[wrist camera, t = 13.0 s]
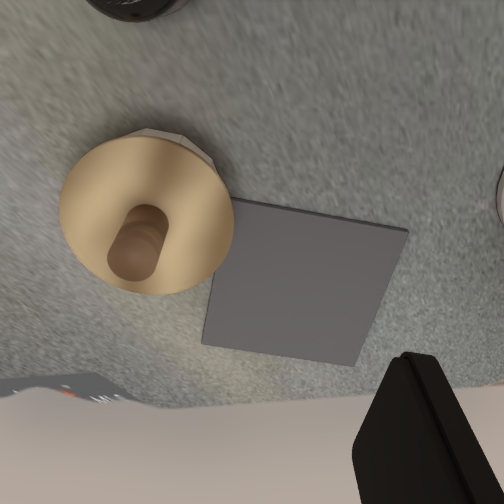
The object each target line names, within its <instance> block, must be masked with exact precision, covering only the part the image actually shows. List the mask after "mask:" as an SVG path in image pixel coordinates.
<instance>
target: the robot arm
mask: <svg viewBox="0 0 504 504" xmlns="http://www.w3.org/2000/svg"><path fill="white" fill-rule="evenodd" d="M497 210H498V214H499V217H500V220H501V222H502V224H503V225H504V171H503V173H502V176H501V179H500V182H499V185H498V192H497ZM352 461H353V466H354V471H355V476H356V480H357V484H358V489H359V494H360V499H361V503H362V504H504V493H503V491H502V489H501V487H500V484H499V482H498V480H497V479H496V477H495V474H494V473H493V470H492V468H491V467H490V465H489V463H488V460H487V458H486V456H485V455H484V452H483V450H482V448H481V446H480V445H479V442H478V441H477V439H476V437H475V434H474V432H473V430H472V429H471V426H470V424H469V423H468V421H467V418H466V416H465V414H464V412H463V410H462V408H461V406H460V405H459V402H458V400H457V398H456V397H455V394H454V393H453V390H452V388H451V386H450V384H449V382H448V380H447V378H446V376H445V374H444V372H443V370H442V368H441V366H440V364H439V362H438V361H437V359H436V358H435V357H434V356H432V355H426V354H420V353H413V352H404V353H402V354H401V356H400V357H394V358H393V359H392V361H391V362H390V365H389V367H388V369H387V371H386V373H385V375H384V378H383V380H382V382H381V384H380V386H379V388H378V391H377V393H376V395H375V397H374V399H373V402H372V404H371V406H370V408H369V410H368V413H367V415H366V417H365V419H364V421H363V423H362V425H361V428H360V430H359V432H358V434H357V436H356V439H355V441H354V443H353V447H352Z"/></svg>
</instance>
